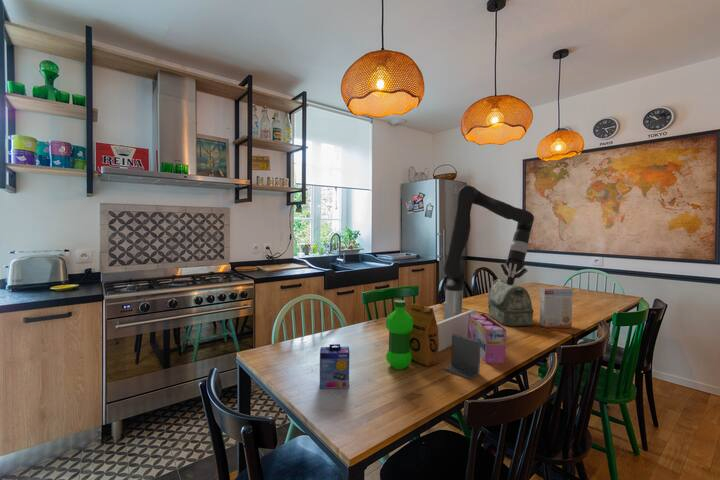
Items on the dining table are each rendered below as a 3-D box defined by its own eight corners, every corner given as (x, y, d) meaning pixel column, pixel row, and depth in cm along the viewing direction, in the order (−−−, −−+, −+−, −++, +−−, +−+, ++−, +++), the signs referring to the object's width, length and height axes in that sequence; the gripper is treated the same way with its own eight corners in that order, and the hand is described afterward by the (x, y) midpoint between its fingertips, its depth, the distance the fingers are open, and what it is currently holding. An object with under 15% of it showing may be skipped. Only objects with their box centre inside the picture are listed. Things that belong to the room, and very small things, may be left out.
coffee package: (425, 369, 124) (426, 310, 123) (402, 358, 134) (403, 304, 133) (443, 362, 129) (444, 307, 128) (419, 352, 140) (420, 300, 138)
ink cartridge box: (319, 389, 108) (319, 345, 107) (319, 381, 113) (320, 339, 113) (349, 388, 109) (349, 345, 108) (348, 380, 114) (349, 339, 114)
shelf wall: (427, 354, 137) (427, 326, 137) (472, 332, 165) (473, 309, 165) (430, 356, 136) (430, 327, 135) (475, 333, 164) (475, 309, 164)
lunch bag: (484, 313, 201) (484, 277, 200) (514, 314, 201) (515, 278, 200) (501, 327, 175) (502, 286, 174) (536, 327, 175) (537, 286, 174)
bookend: (444, 370, 123) (445, 338, 122) (453, 364, 128) (453, 334, 127) (471, 379, 116) (471, 345, 115) (479, 373, 120) (480, 341, 120)
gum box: (465, 341, 153) (466, 312, 152) (482, 341, 153) (483, 312, 153) (485, 363, 129) (486, 329, 129) (506, 363, 129) (507, 329, 129)
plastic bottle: (406, 374, 119) (407, 305, 118) (380, 367, 125) (381, 301, 123) (417, 364, 127) (418, 300, 126) (392, 358, 133) (393, 297, 132)
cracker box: (565, 325, 179) (567, 286, 178) (571, 328, 173) (573, 289, 172) (538, 324, 181) (540, 286, 180) (543, 327, 175) (545, 288, 174)
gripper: (501, 247, 167) (493, 280, 166) (529, 251, 158) (520, 287, 157) (507, 250, 173) (499, 283, 171) (534, 255, 163) (526, 289, 162)
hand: (509, 285), depth 164 cm, fingers closed
